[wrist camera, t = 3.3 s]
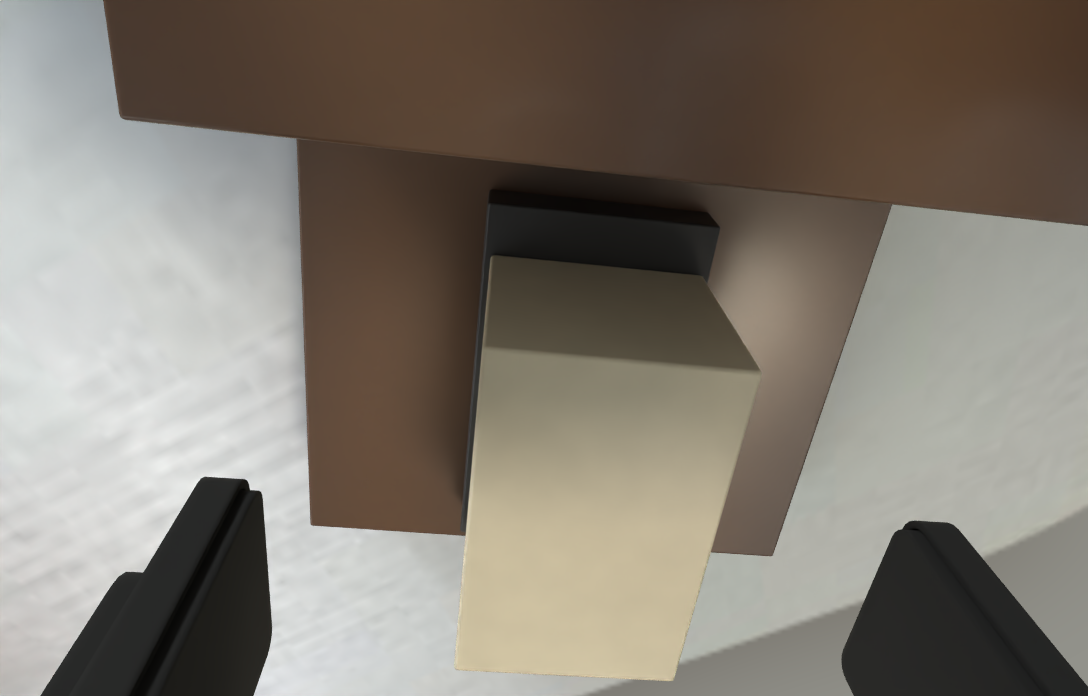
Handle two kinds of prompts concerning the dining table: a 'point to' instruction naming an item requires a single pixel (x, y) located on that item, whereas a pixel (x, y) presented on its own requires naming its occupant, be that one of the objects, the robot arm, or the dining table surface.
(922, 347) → the dining table surface
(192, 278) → the dining table surface
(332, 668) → the dining table surface
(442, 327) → the step shelf
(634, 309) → the cream block on base
